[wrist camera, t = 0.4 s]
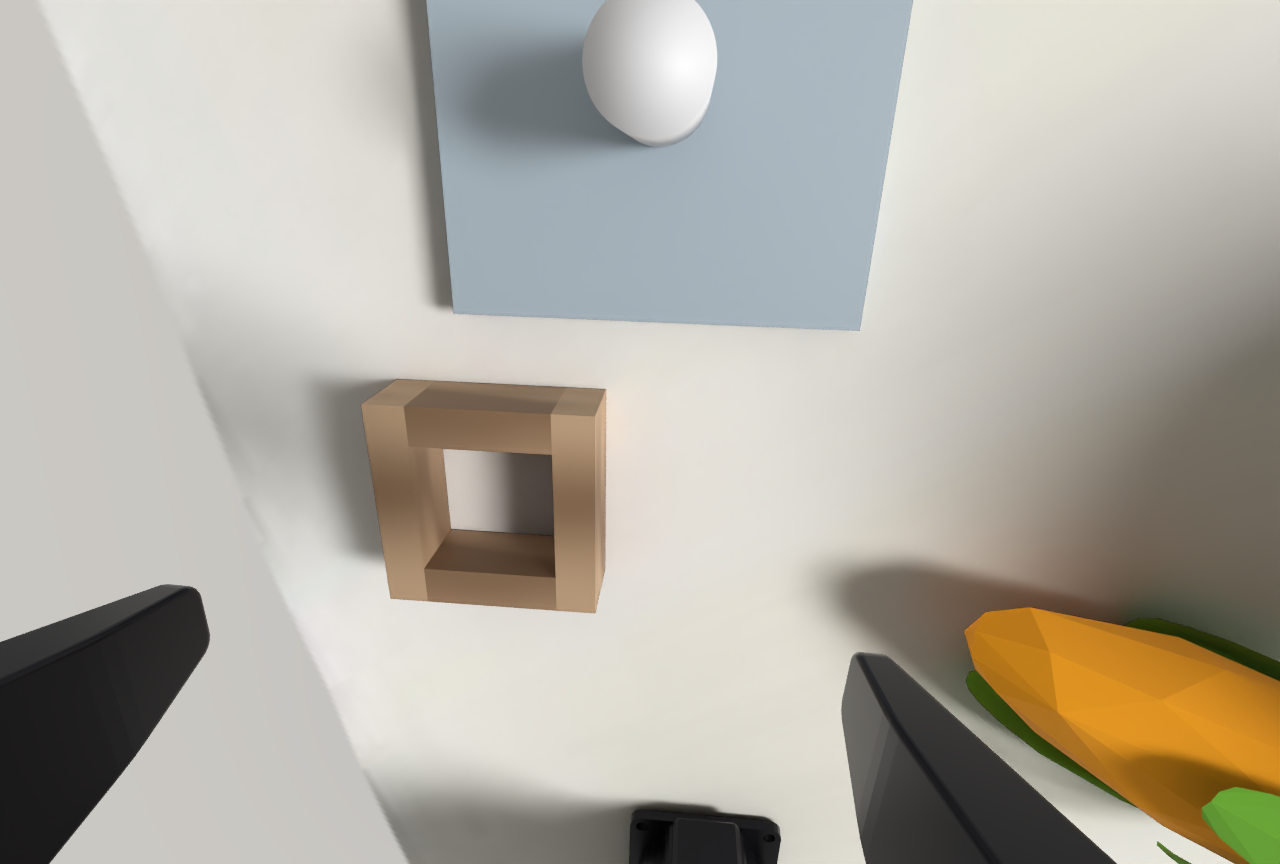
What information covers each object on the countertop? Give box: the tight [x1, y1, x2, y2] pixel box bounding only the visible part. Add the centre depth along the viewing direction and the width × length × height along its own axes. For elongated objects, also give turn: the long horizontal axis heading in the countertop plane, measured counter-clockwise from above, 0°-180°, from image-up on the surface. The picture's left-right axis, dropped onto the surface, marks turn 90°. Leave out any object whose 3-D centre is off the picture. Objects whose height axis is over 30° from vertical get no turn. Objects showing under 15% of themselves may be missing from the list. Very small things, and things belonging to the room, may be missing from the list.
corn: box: [964, 607, 1280, 864], centre depth 20 cm, size 7×8×20 cm
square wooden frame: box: [361, 379, 606, 613], centre depth 21 cm, size 7×7×2 cm
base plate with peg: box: [426, 0, 913, 331], centre depth 15 cm, size 12×12×6 cm
